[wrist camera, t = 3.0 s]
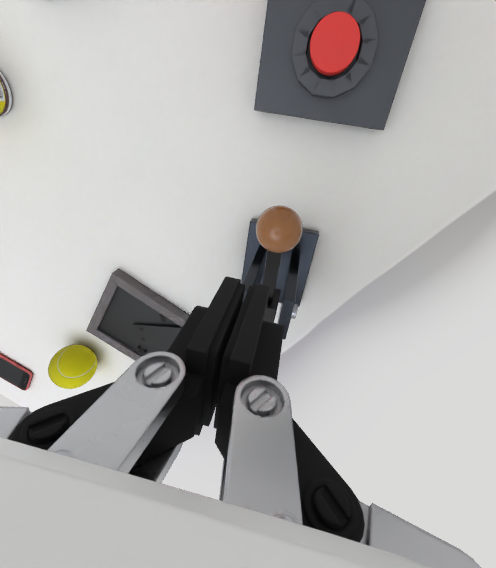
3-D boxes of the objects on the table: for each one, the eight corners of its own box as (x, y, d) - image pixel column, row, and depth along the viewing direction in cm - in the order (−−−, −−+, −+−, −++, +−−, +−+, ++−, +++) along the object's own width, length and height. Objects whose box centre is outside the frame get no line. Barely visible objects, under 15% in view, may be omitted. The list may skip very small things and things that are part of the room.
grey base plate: (423, -11, 23) (442, -35, 20) (378, 129, 28) (387, 130, 25) (275, -27, 25) (269, -51, 21) (257, 110, 30) (250, 109, 26)
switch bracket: (251, 218, 35) (226, 257, 25) (318, 231, 34) (320, 277, 24) (241, 289, 40) (216, 345, 30) (299, 302, 39) (294, 364, 29)
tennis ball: (96, 372, 55) (69, 403, 49) (64, 350, 54) (32, 379, 48) (111, 353, 51) (84, 384, 45) (77, 330, 50) (45, 358, 44)
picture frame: (221, 336, 45) (118, 268, 42) (217, 344, 43) (110, 274, 41) (183, 381, 51) (92, 324, 49) (178, 390, 49) (84, 332, 47)
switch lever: (262, 192, 20) (252, 223, 18) (309, 200, 20) (303, 233, 18) (252, 295, 31) (245, 322, 29) (282, 302, 30) (277, 329, 28)
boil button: (363, 21, 22) (367, 14, 21) (349, 78, 24) (351, 75, 22) (316, 16, 23) (316, 8, 21) (305, 72, 24) (305, 69, 23)
